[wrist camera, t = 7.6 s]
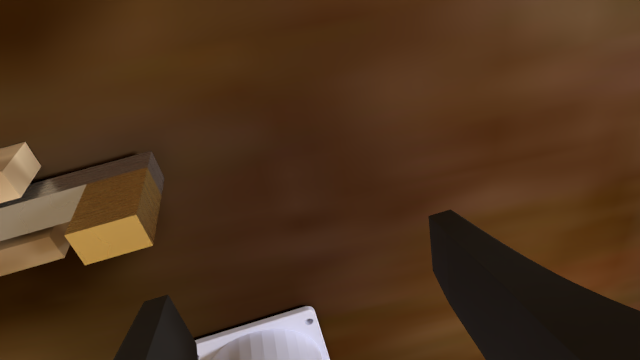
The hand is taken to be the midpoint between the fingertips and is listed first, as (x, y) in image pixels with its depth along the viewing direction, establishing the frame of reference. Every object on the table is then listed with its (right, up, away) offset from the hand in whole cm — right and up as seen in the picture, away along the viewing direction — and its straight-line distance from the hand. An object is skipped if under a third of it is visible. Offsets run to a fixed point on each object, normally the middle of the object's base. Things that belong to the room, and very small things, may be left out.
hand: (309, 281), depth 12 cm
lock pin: (-12, +2, +7) cm, 14 cm away
